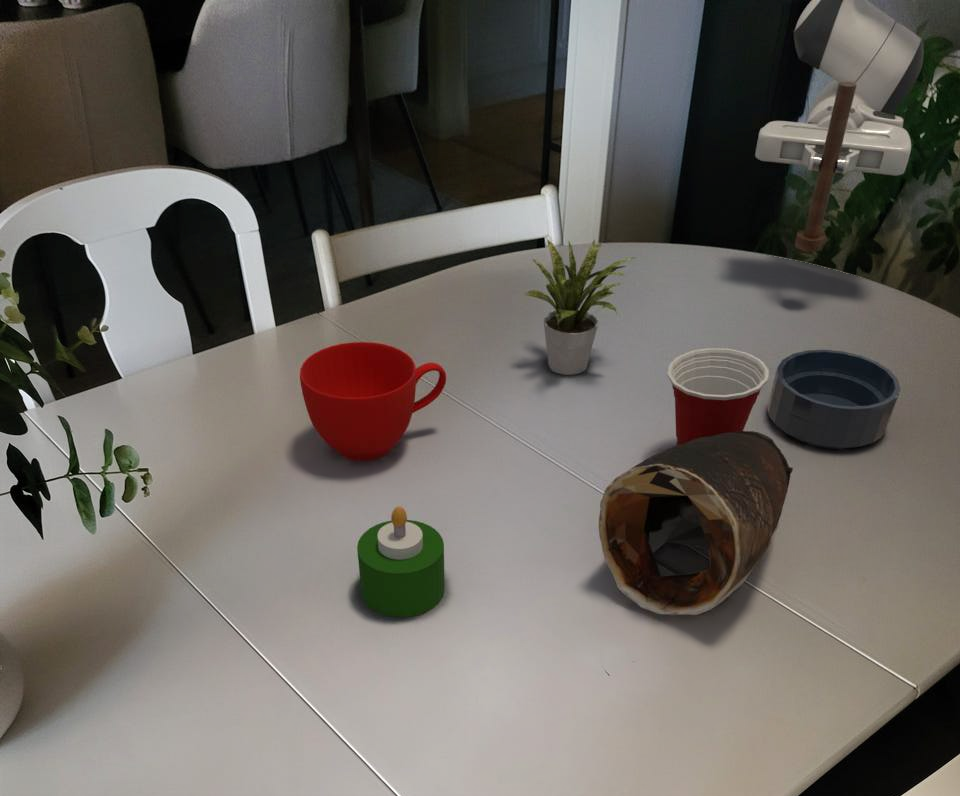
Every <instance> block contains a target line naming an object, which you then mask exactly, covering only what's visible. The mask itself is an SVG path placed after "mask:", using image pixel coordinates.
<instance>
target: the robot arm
mask: <svg viewBox="0 0 960 796" xmlns="http://www.w3.org/2000/svg"><path fill="white" fill-rule="evenodd" d="M793 40H794V47H795V51H796V54H797V57H798V61H799V60H800V61H801V62H803V63H805V64H807V65H808V66H811V67H813V68H814V69H816V70H820V71H821V72H822V73H824V74H826V75H827V76H828V77H830V78H831V79H833V80H832V81H831V82H829V83H828V84H826V86H824V87H823V88H822V89H821V90H820V91H819V92H818V94H817V95H816V96H815V98H814V100H813V102H812V103H811V106H810V108H809V110H808V114H807V117H806V121H805V122H797V121H787V120H773V121H769V122H768V123H766V124H765V125H764V126H763V127H761V128H760V130H759V132H758V138H757V143H756V147H755V154H754V156H755V157H754V158H756V159H757V160H759V161H762V162H768V163H778V164H785V165H786V164H787V165H796V166H805V167H807V171H810V172H811V171H812V172H818V171H819V167H820V163H821V159H822V153H823V149H824V145H825V141H826V136H827V132H828V128H829V123H830V119H831V115H832V111H833V106H834V102H835V98H836V94H837V89H838V85H839V83H840V82H852V83H855V84H856V85H857V86H856V90H855V94H854V98H853V102H852V106H851V110H850V115H849V119H848V123H847V127H846V131H845V135H844V139H843V143H842V147H841V151H840V155H839V159H838V162H837V167H836V171H835V174H838V175H839V174H840V175H847V172H850V171H851V172H858V173H859V172H860V173H870V174H876V175H887V176H895V177H897V176H901V175H904V174H905V172H906V168H907V166H908V163H909V160H910V159H909V158H910V156H911V151H912V141H911V137H910V134H909V132H908V131H907V130H906V129H905V128H904V118H903V117H902V116H899V115H895V114H893V113H894V112H895V111H896V110H897V109H898V108H899V106H900V105H901V104H902V103H903V102H904V100H905V99H906V97H907V96H908V95H909V93H910V92H911V90H912V89H913V87H914V85H915V84H916V81H917V80H918V78H919V75H920V74H921V73H920V72H921V70H922V67H923V63H924V55H925V54H924V53H925V51H924V50H925V49H924V41H923V38H921V37H920V36H919V35H917V34H916V33H915V32H913V31H912V30H911V29H909V28H908V27H906V26H905V25H903V24H902V23H901V22H899V21H898V20H897V19H894V18H892V17H891V16H890V15H888V14H887V13H886V12H884V11H883V10H881V9H879V7H877V6H876V5H874V3H872V2H870V1H868V0H810V1H809V3H808V4H807V5H806V7H805V8H804V9H803V11H802V13H801V14H800V16H799V18H798V20H797V22H796V25H795V28H794V29H793Z"/></svg>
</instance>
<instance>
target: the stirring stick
mask: <svg viewBox="0 0 960 796" xmlns="http://www.w3.org/2000/svg"><path fill="white" fill-rule="evenodd" d="M856 86H857V85H856V84H855V83H852V82H840V83H839V85H838V89H837V94H836V98H835V102H834V106H833V111H832V115H831V119H830V123H829V128H828V132H827V136H826V141H825V145H824V149H823V153H822V159H821V163H820V167H819V171H817V175H816V179H815V184H814V188H813V192H812V196H811V201H810V205H809V209H808V213H807V217H806V221H805V226H804V229H801V230H799V231H797V233H796V236H795V240H794V245H793V246H794V248H795V249H797V250H798V251H799V250H800V251H802V252H808V253H816V252H817V253H818V252H821V251H823V250H824V249H825V248H824V247H825V244H826V240H827V235H826V234H825V233H823V232H822V229H823V224H824V220H825V215H826V212H827V207H828V204H829V199H830V195H831V192H832V187H833V183H834V179H835V175H836V173H835V171H836V167H837V162H838V159H839V155H840V151H841V147H842V143H843V139H844V135H845V131H846V127H847V123H848V119H849V115H850V110H851V106H852V102H853V98H854V94H855V90H856Z"/></svg>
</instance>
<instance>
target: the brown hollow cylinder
mask: <svg viewBox="0 0 960 796" xmlns="http://www.w3.org/2000/svg"><path fill="white" fill-rule="evenodd" d="M793 471H794V467H791V466H789V464H788V460H787V459H786V456H785V454H784V453H782V451H781V449H780V448H779V447H778V446H777V444H776V443H775V441H774V440H773V438H771V437H770V436H769V435H766V434H763V433H761V432H759V431H753V430H743V431H736V432H732V433H723V434H718V435H715V436H709V437H701V438H697V439H694V440H691V441H689V442H687V443H684V444H680V445H677V444H676V445H673V446H671V447H668V448H665V449H664V450H662V451H661V452H658V453H656V454H654V455H652V456H650V457H648V458H646V459H644V460H643V461H641V462H639V463H637V464H636V465H634V466H633V467H631V468H630V469H628V470H627V471H625V472H623V473H621V474H620V475H618V476H617V477H615V478H614V479H613V480H612V481H611V482H610V483H609V484H608V486H606V487H605V489H604V492H603V495H602V498H601V500H600V502H599V503H600V505H599V508H600V511H599V514H598V515H599V516H598V534H599V536H598V537H599V540H600V544H601V549H602V553H603V558H604V560H605V562H606V565H607V567H608V568H609V571H610V572H611V574H612V576H613V578H614V581H615V584H616V586H617V588H618V589H619V590H620V592H621V593H622V594H623V595H624V596H625V597H627V598H628V599H630V600H631V601H632V602H634V603H635V604H636V605H637V606H638V607H640V608H641V609H645V610H648V611H650V612H653V613H655V614H657V615H671V616H677V615H678V616H679V615H690V616H691V615H692V616H696V615H700V614H704V613H705V612H708V611H710V610H712V609H714V608H715V607H717V606H718V605H719V604H721V603H722V602H724V601H725V600H726V599H727V598H728V597H729V596H730V595H731V594H732V593H733V592H735V591H736V590H737V589H739V588H740V586H742V585H743V584H744V583H745V582H746V581H747V579H748V576H749V575H750V573H751V572H752V571H753V569H754V567H755V566H756V565H757V564H758V562H760V560H761V558H762V557H763V555H764V553H765V552H766V550H767V548H768V547H769V546H770V543H771V539H772V537H773V535H774V533H775V531H776V530H777V528H778V524H779V522H780V518H781V516H782V513H783V507H784V504H785V501H786V497H787V494H788V489H789V486H790V480H791V474H792V473H793ZM665 542H668V543H673V544H677V545H683V546H684V545H685V546H687V547H688V546H689V547H694V548H699V549H704V550H708V556H709V563H710V566H708V567H707V568H706V569H704V570H702V571H701V572H692V573H682V574H676V573H675V572H673V571H671V570H670V569H668V568H666V567H665V566H663V565H661V563H658V562H657V560H656V558H655V555H654V553H655V552H656V551H657V550H659V548H660V547H661V546H662V545H664V543H665Z"/></svg>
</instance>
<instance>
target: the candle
mask: <svg viewBox="0 0 960 796" xmlns="http://www.w3.org/2000/svg"><path fill="white" fill-rule="evenodd" d="M356 549H357V551H356V552H357V560H358V561H357V562H358V570H359V571H358V572H359V581H360V591H361V597H362V599H363V602H364V603H365V604H366V606H367V607H368V608H370V609H371V610H372V611H375V612H377V613H378V614H380V615H384V616H386V617H387V616H388V617H393V618H409V617H415V616H420V615H422V614H425V613H427V612H429V611H430V610H432V609H434V608H435V607H437V605H439V603H440V602H441V601H442V600H443V597H444V594H445V589H446V588H445V587H446V586H445V581H446V580H445V543H444V539H443V537H442V535H441V534H440V533H439V531H438V530H437V529H435V528H434V527H432V526H431V525H428V524H427V523H425V522H421V521H418V520H410V519H408V515H407V512H406V510H405V508H403V507H402V506H396V507H394V508H393V510H392V513H391V517H390V520H387V521H383V522H380V523H377V524H375V525H373V526H371V527H370V528H368V529H367V530H366V531H364V532H363V534H362V535H361V536H360V537H359V539H358V541H357V545H356Z"/></svg>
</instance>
